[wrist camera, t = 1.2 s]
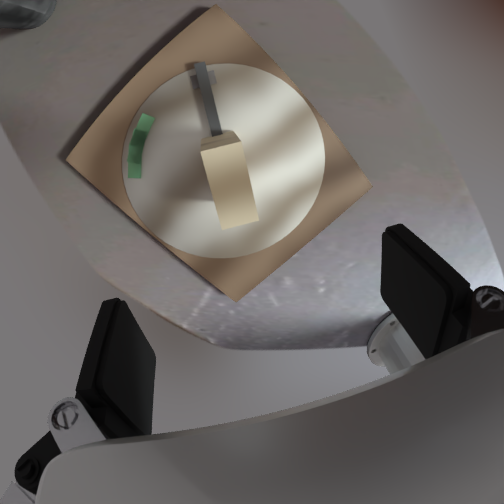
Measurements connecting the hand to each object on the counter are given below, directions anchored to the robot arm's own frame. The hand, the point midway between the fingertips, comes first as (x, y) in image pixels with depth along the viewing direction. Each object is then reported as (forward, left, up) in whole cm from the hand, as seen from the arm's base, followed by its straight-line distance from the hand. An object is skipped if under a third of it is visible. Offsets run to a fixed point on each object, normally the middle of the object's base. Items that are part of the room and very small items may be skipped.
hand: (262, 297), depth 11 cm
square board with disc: (0, 0, -20) cm, 20 cm away
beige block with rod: (+3, -2, -19) cm, 19 cm away
